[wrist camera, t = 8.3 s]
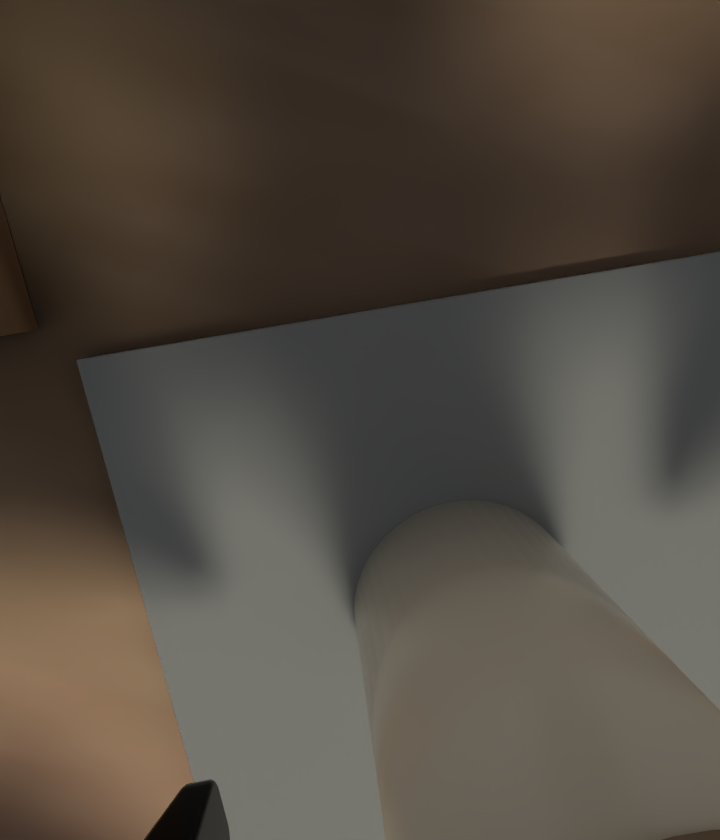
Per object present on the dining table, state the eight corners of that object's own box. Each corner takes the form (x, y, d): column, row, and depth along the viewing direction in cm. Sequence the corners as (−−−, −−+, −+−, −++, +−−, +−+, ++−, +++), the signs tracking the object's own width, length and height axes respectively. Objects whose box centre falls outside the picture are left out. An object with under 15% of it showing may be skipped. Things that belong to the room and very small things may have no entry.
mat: (732, 249, 11) (744, 247, 10) (735, 774, 14) (744, 784, 13) (82, 358, 10) (76, 360, 10) (227, 881, 13) (225, 895, 13)
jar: (565, 475, 11) (1152, 911, 3) (581, 678, 12) (1055, 1359, 4) (330, 519, 11) (385, 1092, 3) (368, 721, 12) (477, 1513, 4)
